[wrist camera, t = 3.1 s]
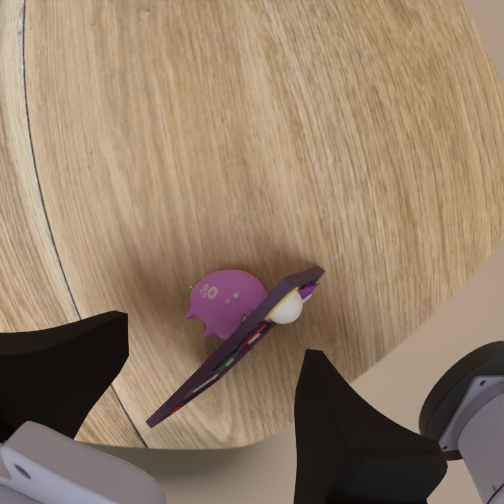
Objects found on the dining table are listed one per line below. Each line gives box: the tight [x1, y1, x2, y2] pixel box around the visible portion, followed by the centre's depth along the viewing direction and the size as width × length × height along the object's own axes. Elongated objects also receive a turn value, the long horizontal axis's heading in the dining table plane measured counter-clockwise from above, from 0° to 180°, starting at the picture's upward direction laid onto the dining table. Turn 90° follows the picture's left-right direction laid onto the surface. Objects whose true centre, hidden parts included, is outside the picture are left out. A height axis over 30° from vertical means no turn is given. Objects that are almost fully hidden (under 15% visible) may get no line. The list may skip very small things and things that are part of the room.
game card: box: [146, 266, 325, 428], centre depth 14 cm, size 7×5×9 cm
